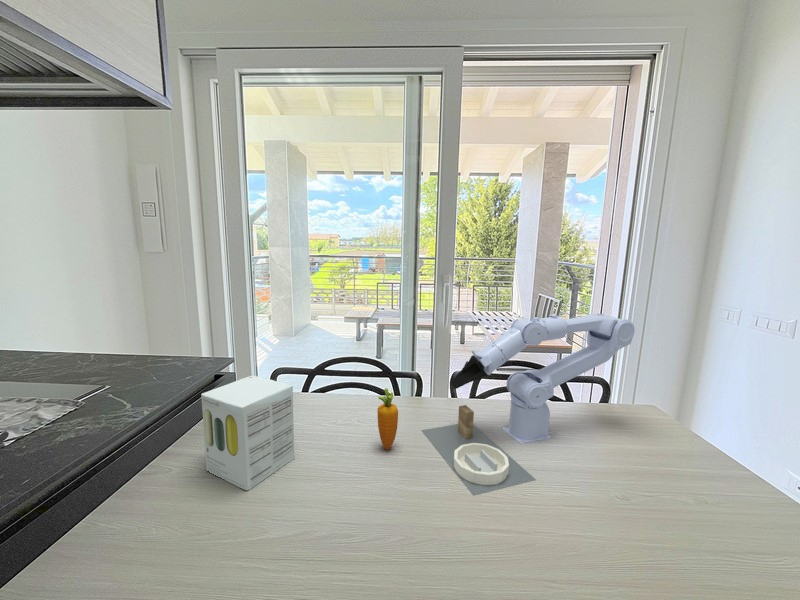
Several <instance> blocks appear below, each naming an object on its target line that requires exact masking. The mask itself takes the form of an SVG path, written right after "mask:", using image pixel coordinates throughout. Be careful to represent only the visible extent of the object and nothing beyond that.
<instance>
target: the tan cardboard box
mask: <svg viewBox="0 0 800 600" xmlns="http://www.w3.org/2000/svg"><path fill="white" fill-rule="evenodd" d="M474 417H475V411H474V410H472V409H471V408H470V407H469V406H468V405H466V404H464V405H463V404H462V405H459V406H458V419H457V420H458V421H457V422H458V423H457V424H458V432H459V433H460V434H461V435H462V436H463V437H464V438H465V439H469V438H473V424H474Z"/></svg>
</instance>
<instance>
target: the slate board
mask: <svg viewBox="0 0 800 600" xmlns="http://www.w3.org/2000/svg"><path fill="white" fill-rule="evenodd" d="M420 431H421V432H422V434H423V435H424V436H425V437H426V439H427V440H428V441H429V442H430V444H432V446H433V447H434V449H435V450H436V451H437V452H438V454H439V455H440V456H441V457H442V459H443V460H444V461H445V463H447V464H448V466H449V467H450V469H451V470H452V471H453V472H454V474H455V475H456V476H457V477H458V479H459V480H460V481H461V483H463V485H464V486H465V487H466V489H467V490H468V491H469V492H470V494H471V495H472V497H473V496H477V495H482V494H485V493H489V492H493V491H498V490H501V489H505V488H511V487H515V486H517V485H522V484H526V483H529V482H534V481H537V479H536V478H535V477H534V476H533V475H532V474H531V473H530V472H528V471H527V470H526V469H525V468H523V466H521V464H519V463H518V462H517V461H516V460H515V459H514V458H513V457H511V455H509V454H508V453H507V452H506V451H505V450H503V448H502V447H500V446H499V445H497V443H495V442H494V441H493V440H492V439H491V438H490V437H489V436H488V435H487V434H486V433H484V432H483V431H482V430H481V429H480V428H478V427H477V425H475V424H474V423H473V438H469V439H465V438H464V437H463V436H462V435H461V434H460V433H459V432H458V423H456V424H452V425H450V424H449V425H444V426H439V427H438V426H437V427H432V428H426V429H421V430H420ZM470 443H479V444H487V445H489V446H492V447H494V448H497V449H499V450H500V451H501V452H503V453H504V454H505V455H506V456H507V457H508V462H509V474H508V475H507V478H506V479H505V480H504V481H503V482H502V483H500V484H497V485H492V486H483V485H477V484H473V483H471V482H468V481H466V480H464V479H463V478H461V477H460V476H459V475H458V474H457V473H456V471H455V469H454V452H455V450H456V449H457V448H458V447H460V446H461V445H464V444H470Z"/></svg>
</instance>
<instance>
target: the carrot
mask: <svg viewBox="0 0 800 600" xmlns="http://www.w3.org/2000/svg"><path fill="white" fill-rule="evenodd" d="M384 393H385V396H380V395H379V396H378V399H379V400H380V401H382V402H383V403H382V404H380V405H379V406H378V407H377V428H378V433H379V438H380V441H381V443H382V444H381V445H382V446H383V448H384V450H385V451H389V450H391V448H392V446H393V444H394V442H395V439H396V437H397V436H396V435H397V431H398V422H399V410H398V407H397V405H396V404H394V403H392V402H393V399H394V392H393V391H391V392H390V391H389V388H387V387H386V388H384Z"/></svg>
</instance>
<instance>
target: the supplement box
mask: <svg viewBox="0 0 800 600" xmlns="http://www.w3.org/2000/svg"><path fill="white" fill-rule="evenodd" d="M293 391H294V389H293V384H292V385H291V384H288V383H284V382H280V381H278V380H277V381H276V380H274V379H268V378H264V377H261V376H257V375H253V374H252V375H249V376H247V377H243V378H241V379H238V380H235V381H233V382H230V383H227V384H225V385H221V386H219V387H217V388H213V389H211V390H208V391H205V392H202V393H201V395H200V396H201V409H202V420H203V421H202V424H203V436H204V438H203V440H204V450H205V452H204V454H205V469H206V472H207V471H209V472H210V473H209V472H208V473H209V474H211V473H212V474H211V475H213V474H214V475H213V476H215V475H216V477H217V476H218V478H219V477H221V478H222V479H221V478H220V479H221V480H223V479H225V480H224V481H225V482H228V483H230V484H232V485H234V486H236V487H237V488H240V489H243V490H245V491H246V490H247V491H250V490H251V489H252V488H255V486H257V485H258V484H260V483H261V482H262V481H264V480H265V479H267V478H268V477H269V476H271V475H272V474H274V473H275V472H277V471H278V470H279V469H281V468H283V467H284V466H286V465H287V464H288V463H290V462H291V461H293V460H295V457H296V456H295V437H294V436H295V434H294V433H295V431H294V427H295V426H294V395H293V394H294V392H293Z"/></svg>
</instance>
